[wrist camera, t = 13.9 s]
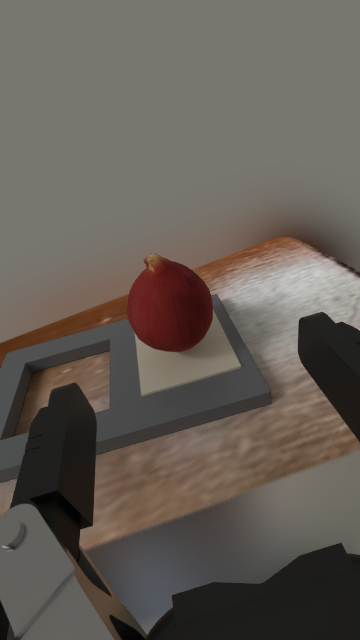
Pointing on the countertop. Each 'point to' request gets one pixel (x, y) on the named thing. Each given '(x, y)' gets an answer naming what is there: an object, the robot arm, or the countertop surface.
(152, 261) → the onion
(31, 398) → the countertop surface
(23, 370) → the tray
